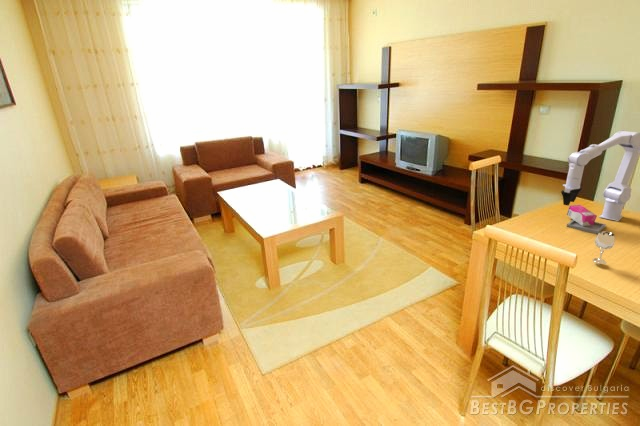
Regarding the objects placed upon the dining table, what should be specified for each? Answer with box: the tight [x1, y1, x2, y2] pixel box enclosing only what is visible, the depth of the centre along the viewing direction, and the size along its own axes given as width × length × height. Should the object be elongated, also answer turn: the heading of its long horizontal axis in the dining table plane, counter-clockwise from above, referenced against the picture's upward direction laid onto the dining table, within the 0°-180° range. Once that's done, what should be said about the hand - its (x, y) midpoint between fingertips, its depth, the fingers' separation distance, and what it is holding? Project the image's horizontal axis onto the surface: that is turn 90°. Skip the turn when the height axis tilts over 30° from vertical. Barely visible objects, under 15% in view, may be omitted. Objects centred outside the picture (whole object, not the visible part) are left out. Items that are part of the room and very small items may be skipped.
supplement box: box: [566, 204, 598, 226], centre depth 171 cm, size 6×6×12 cm
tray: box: [566, 219, 607, 235], centre depth 167 cm, size 13×13×2 cm
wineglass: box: [592, 230, 616, 265], centre depth 133 cm, size 6×6×12 cm
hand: (568, 203), depth 171 cm, fingers open, 7 cm apart
